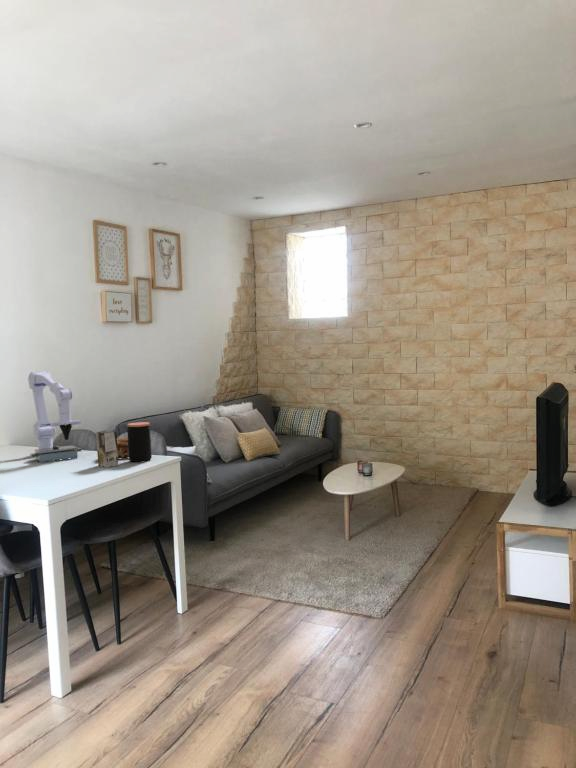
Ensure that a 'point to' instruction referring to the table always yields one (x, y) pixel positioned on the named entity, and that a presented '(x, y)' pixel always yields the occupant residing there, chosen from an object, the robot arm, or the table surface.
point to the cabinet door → (55, 449)
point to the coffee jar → (139, 441)
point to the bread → (122, 447)
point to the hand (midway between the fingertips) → (66, 439)
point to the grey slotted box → (55, 455)
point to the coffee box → (107, 448)
